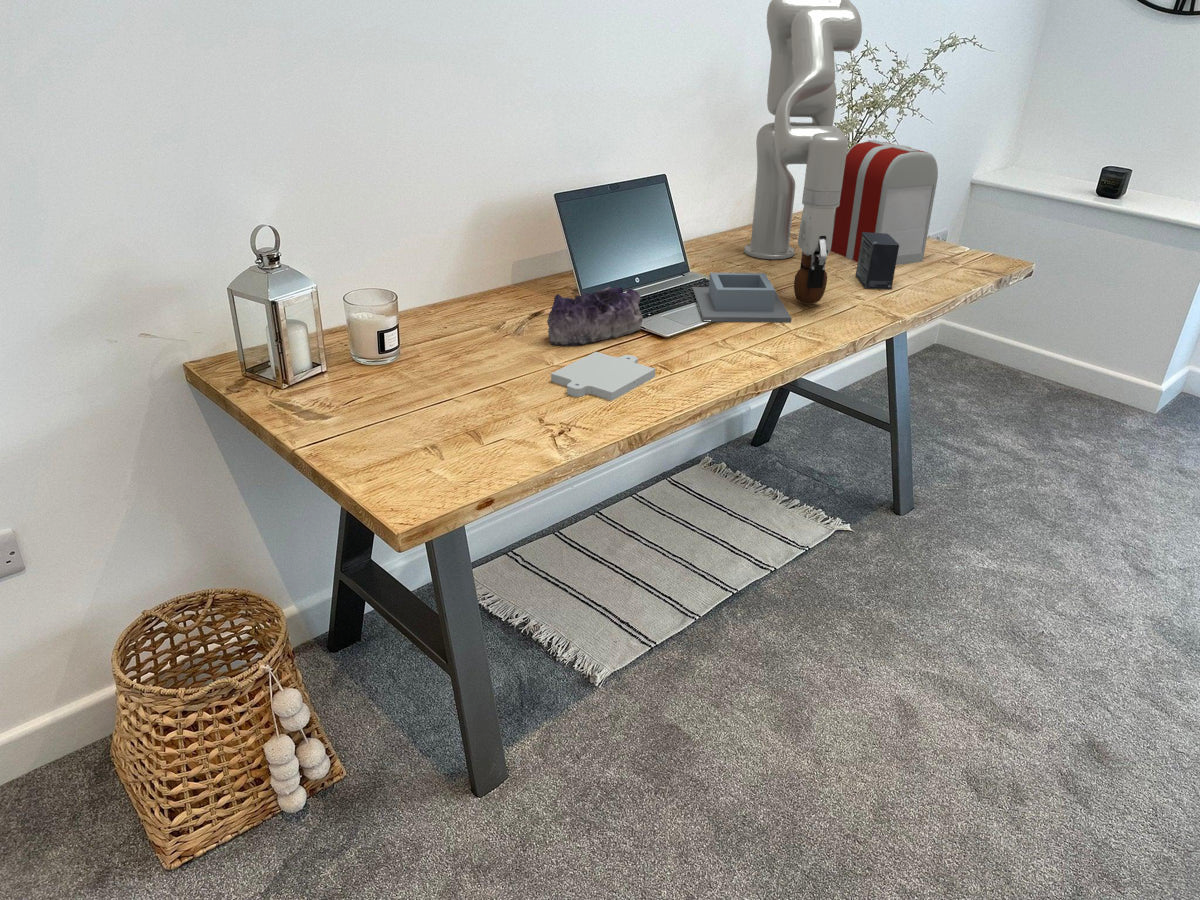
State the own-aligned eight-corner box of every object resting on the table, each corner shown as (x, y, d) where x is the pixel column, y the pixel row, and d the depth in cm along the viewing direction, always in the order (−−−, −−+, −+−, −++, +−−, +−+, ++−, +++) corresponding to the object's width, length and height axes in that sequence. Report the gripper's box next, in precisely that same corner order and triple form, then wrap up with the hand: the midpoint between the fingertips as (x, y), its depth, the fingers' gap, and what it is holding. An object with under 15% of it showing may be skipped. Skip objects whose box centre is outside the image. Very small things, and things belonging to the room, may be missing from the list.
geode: (573, 356, 171) (566, 303, 167) (537, 346, 180) (530, 296, 176) (654, 329, 182) (650, 279, 178) (617, 321, 191) (612, 273, 187)
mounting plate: (602, 408, 152) (603, 397, 151) (541, 388, 158) (541, 377, 158) (662, 374, 165) (663, 364, 164) (603, 357, 171) (604, 347, 170)
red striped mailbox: (879, 244, 245) (895, 137, 233) (924, 261, 231) (945, 149, 218) (827, 249, 239) (841, 141, 227) (871, 268, 225) (889, 153, 212)
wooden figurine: (803, 308, 195) (812, 237, 188) (787, 299, 200) (795, 230, 193) (829, 303, 198) (838, 234, 191) (811, 295, 203) (820, 227, 196)
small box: (893, 289, 210) (901, 244, 205) (864, 289, 210) (871, 243, 205) (882, 276, 219) (889, 232, 214) (854, 275, 219) (860, 231, 214)
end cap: (692, 291, 206) (693, 267, 204) (772, 292, 207) (775, 268, 204) (703, 321, 188) (704, 295, 186) (791, 322, 189) (794, 296, 186)
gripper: (794, 187, 196) (785, 269, 205) (812, 207, 181) (801, 295, 189) (829, 187, 196) (818, 269, 205) (850, 207, 181) (838, 295, 189)
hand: (810, 281), depth 197 cm, fingers closed on wooden figurine, 6 cm apart
